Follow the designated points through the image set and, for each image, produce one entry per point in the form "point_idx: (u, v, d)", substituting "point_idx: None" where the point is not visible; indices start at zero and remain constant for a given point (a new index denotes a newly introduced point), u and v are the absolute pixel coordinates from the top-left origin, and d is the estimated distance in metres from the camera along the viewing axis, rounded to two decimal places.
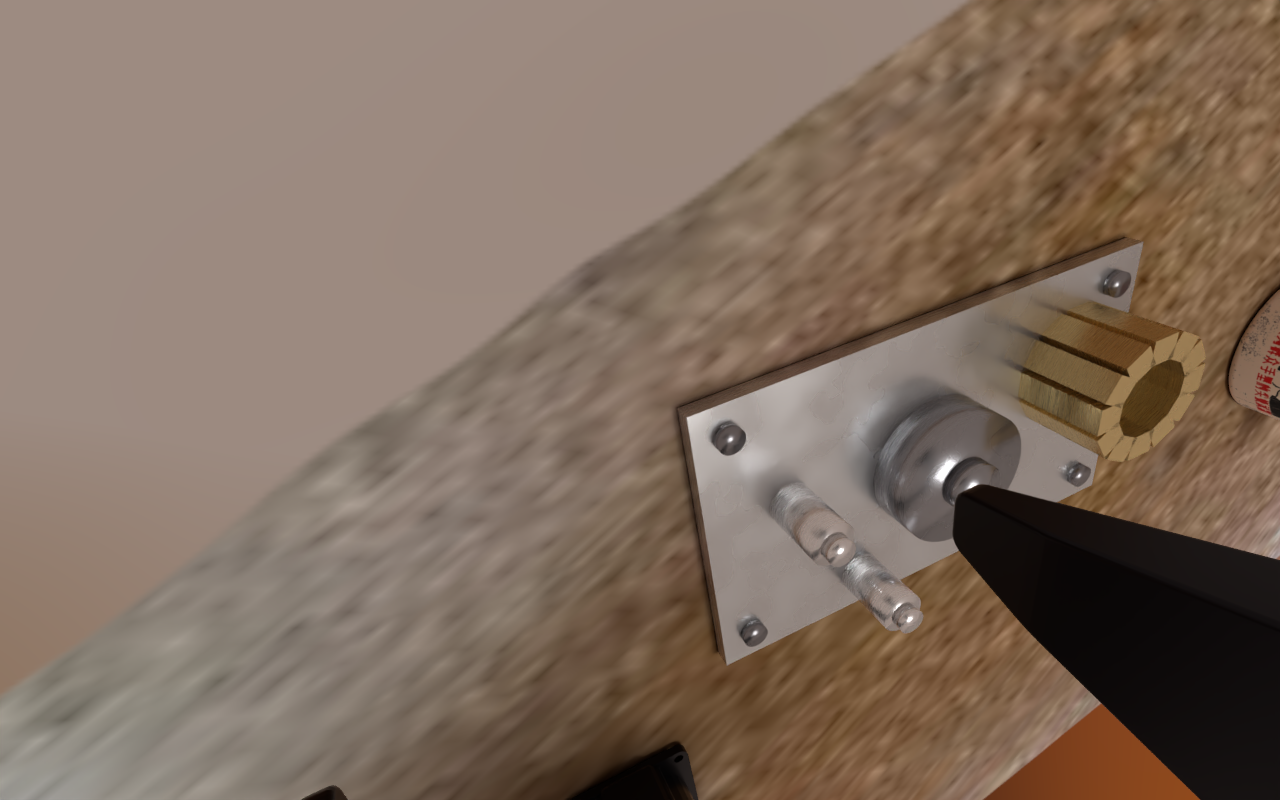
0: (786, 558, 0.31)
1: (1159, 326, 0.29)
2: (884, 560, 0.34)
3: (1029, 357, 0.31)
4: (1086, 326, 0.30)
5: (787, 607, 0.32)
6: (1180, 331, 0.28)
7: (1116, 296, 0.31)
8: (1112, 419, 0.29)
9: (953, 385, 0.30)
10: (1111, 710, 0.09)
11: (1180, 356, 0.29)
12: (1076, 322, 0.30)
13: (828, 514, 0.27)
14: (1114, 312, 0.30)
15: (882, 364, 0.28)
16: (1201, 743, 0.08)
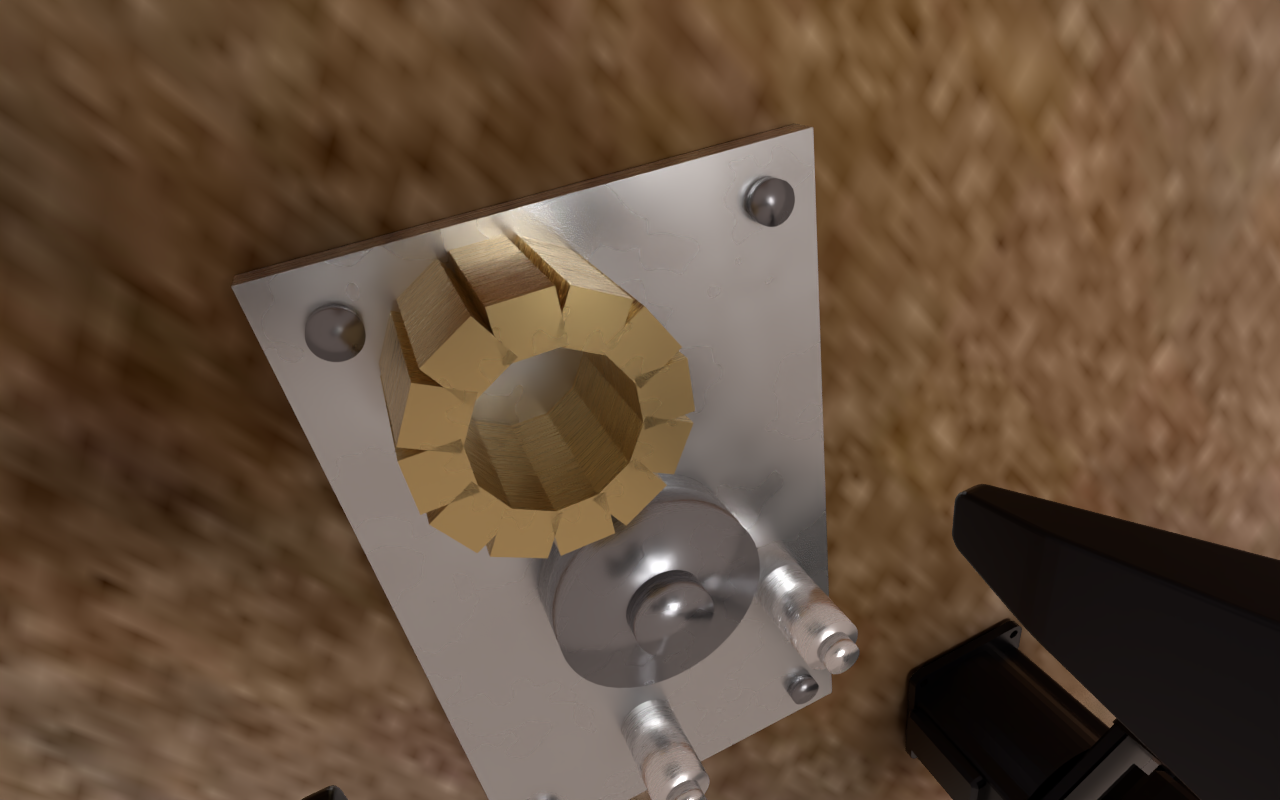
0: (721, 689, 0.26)
1: (395, 446, 0.13)
2: (781, 556, 0.24)
3: None
4: None
5: (790, 658, 0.27)
6: None
7: (362, 335, 0.15)
8: (585, 518, 0.15)
9: (523, 582, 0.20)
10: (1111, 709, 0.09)
11: (459, 414, 0.13)
12: None
13: (647, 785, 0.23)
14: None
15: (478, 700, 0.22)
16: (1201, 743, 0.08)
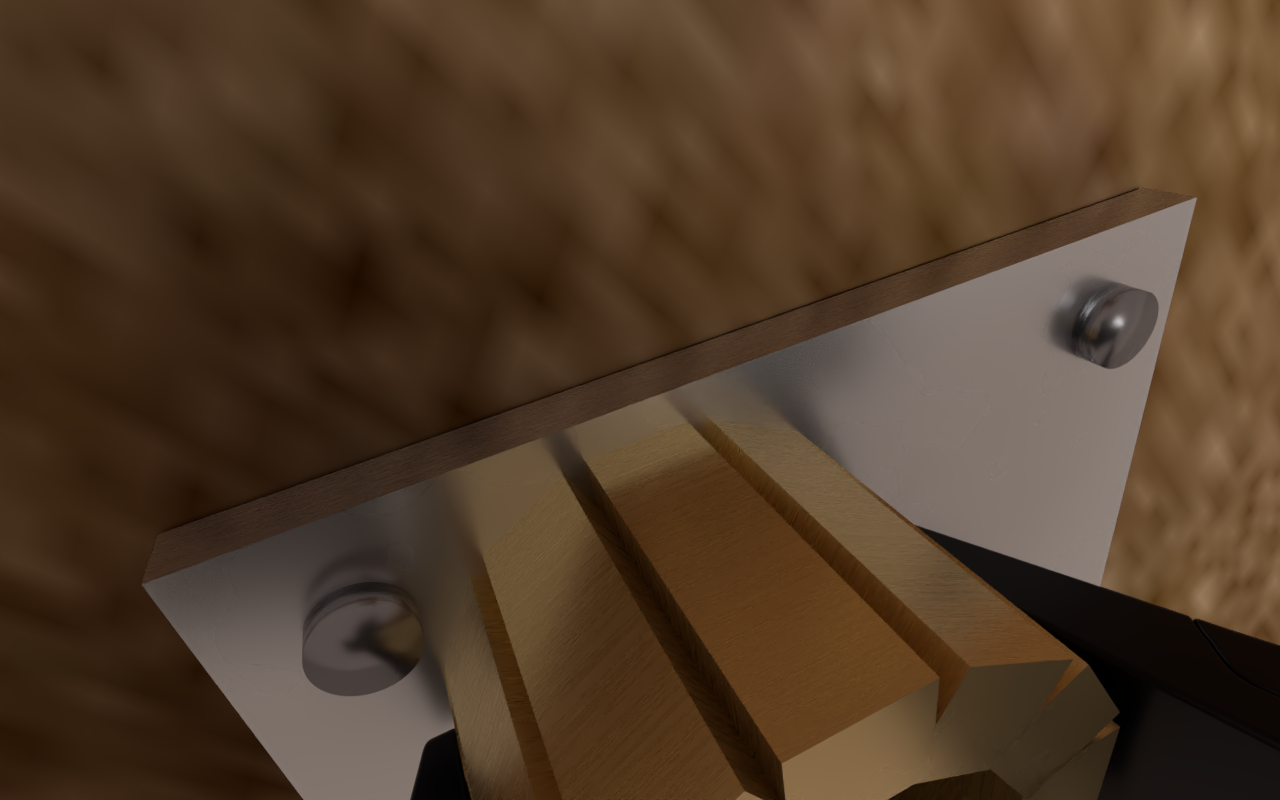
0: None
1: None
2: None
3: None
4: None
5: None
6: None
7: (418, 641, 0.07)
8: None
9: None
10: None
11: None
12: None
13: None
14: (471, 793, 0.07)
15: None
16: None
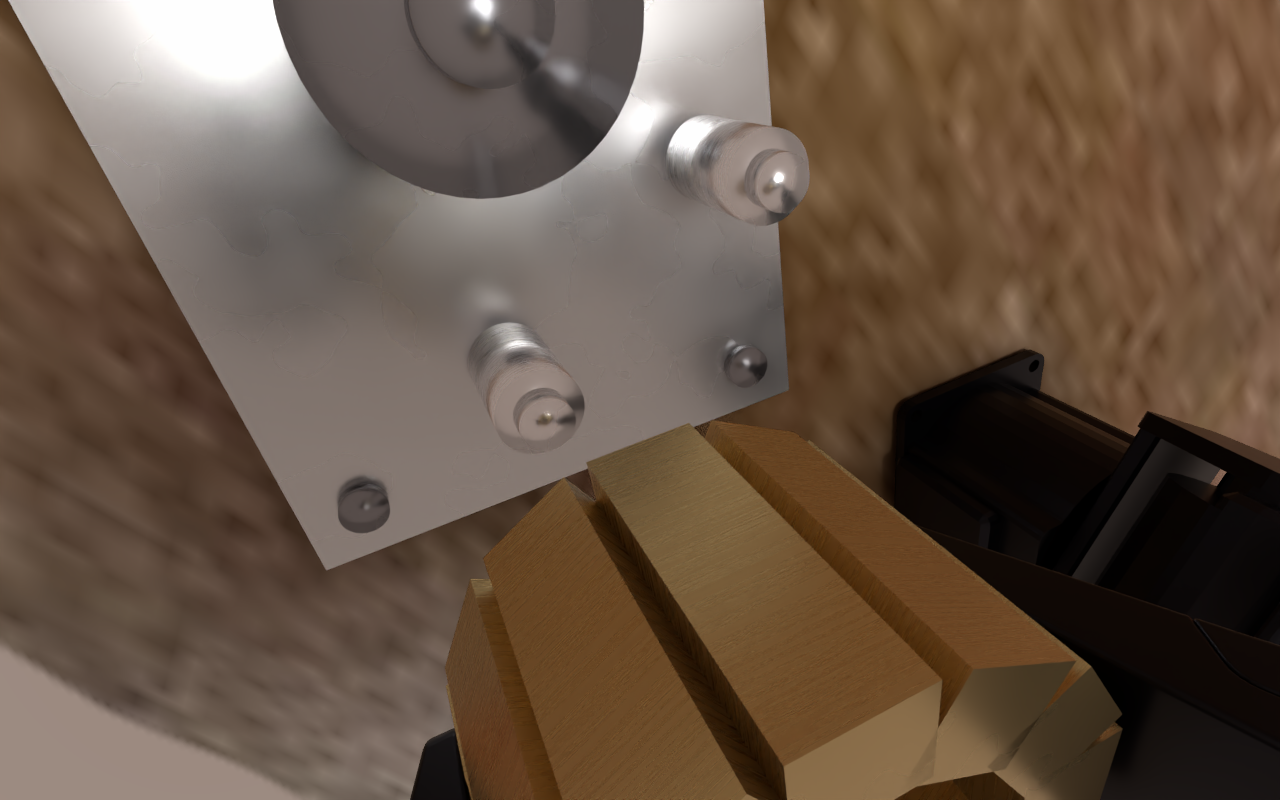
0: (622, 336, 0.18)
1: None
2: (699, 93, 0.16)
3: None
4: None
5: (724, 306, 0.19)
6: None
7: None
8: None
9: None
10: None
11: None
12: None
13: (487, 404, 0.15)
14: (471, 795, 0.07)
15: (202, 232, 0.14)
16: None
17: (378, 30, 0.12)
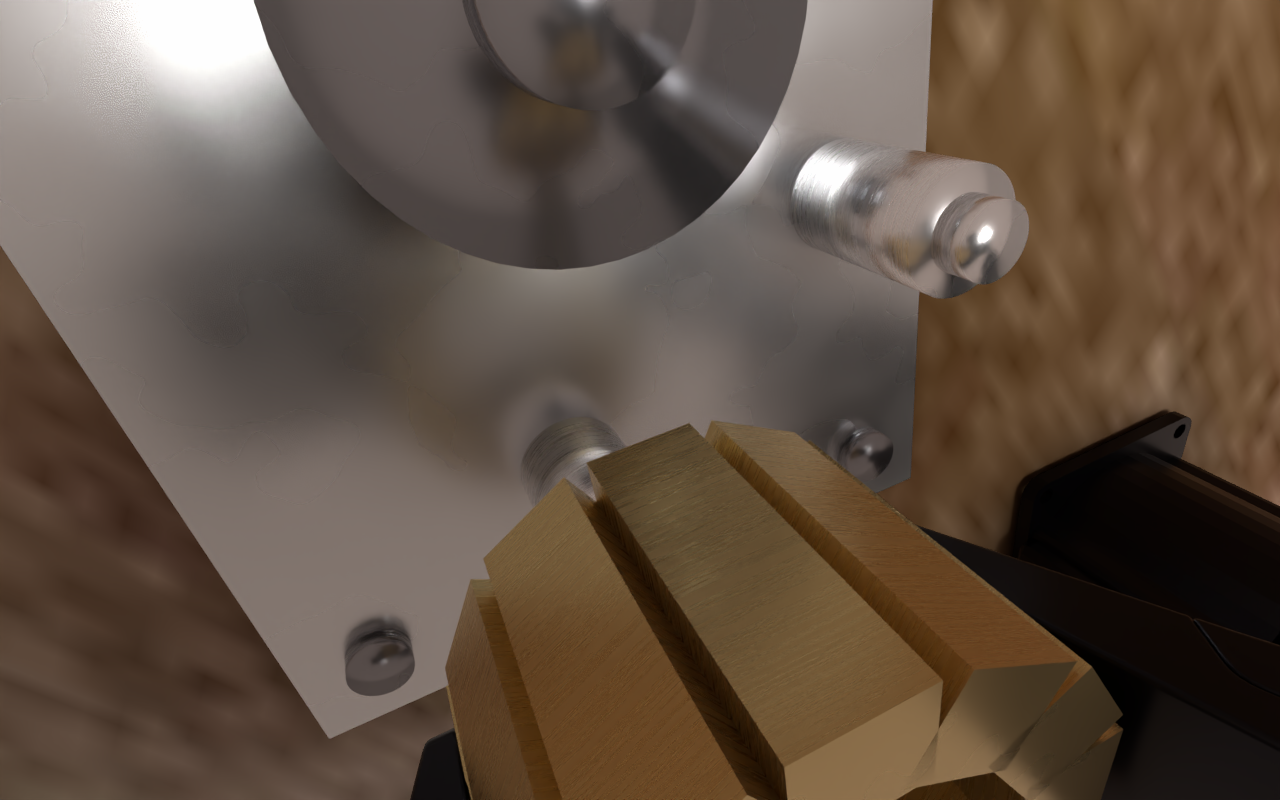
0: None
1: None
2: (841, 109, 0.12)
3: None
4: None
5: (846, 382, 0.15)
6: None
7: None
8: None
9: None
10: None
11: None
12: None
13: None
14: (471, 795, 0.07)
15: (150, 317, 0.09)
16: None
17: (418, 17, 0.07)
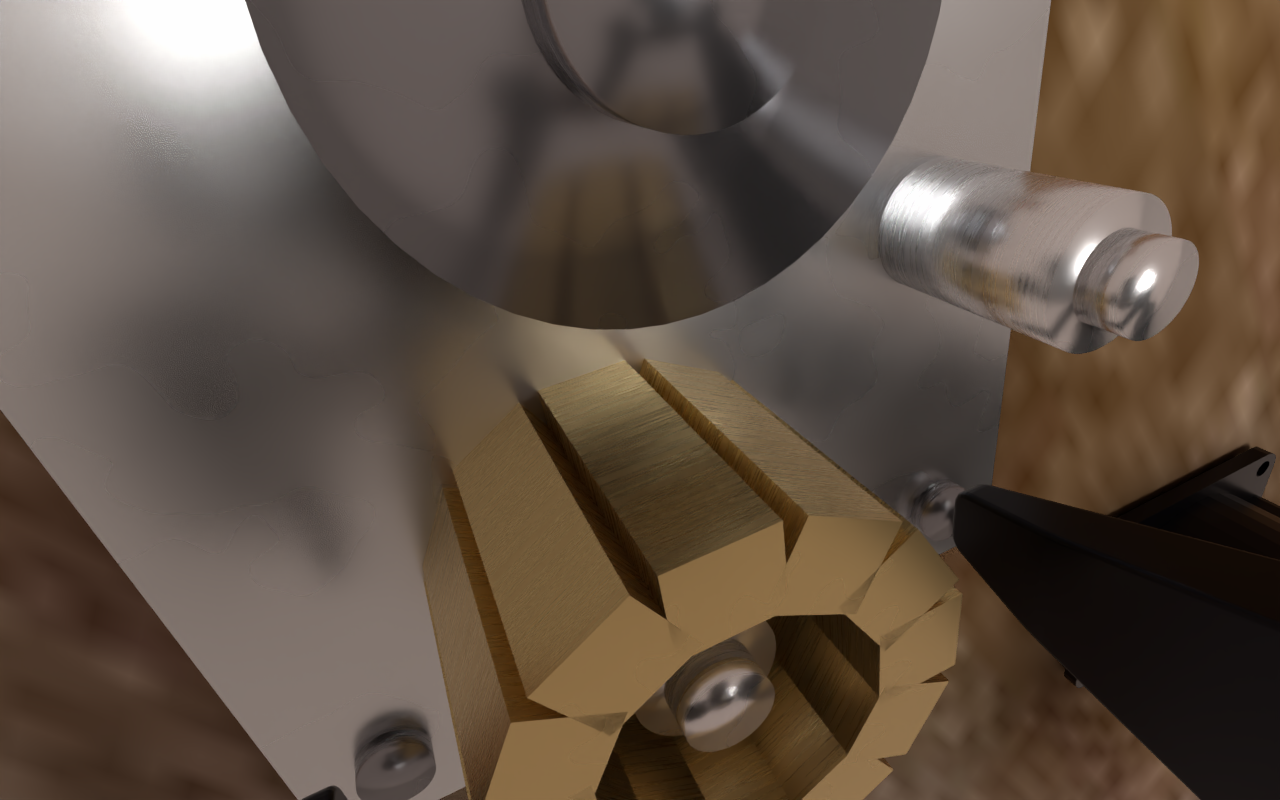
0: None
1: (466, 784, 0.07)
2: (941, 123, 0.10)
3: None
4: None
5: (924, 432, 0.13)
6: None
7: None
8: None
9: None
10: (1110, 710, 0.09)
11: (593, 751, 0.07)
12: None
13: None
14: (442, 660, 0.09)
15: (117, 386, 0.07)
16: (1201, 743, 0.08)
17: (461, 12, 0.05)
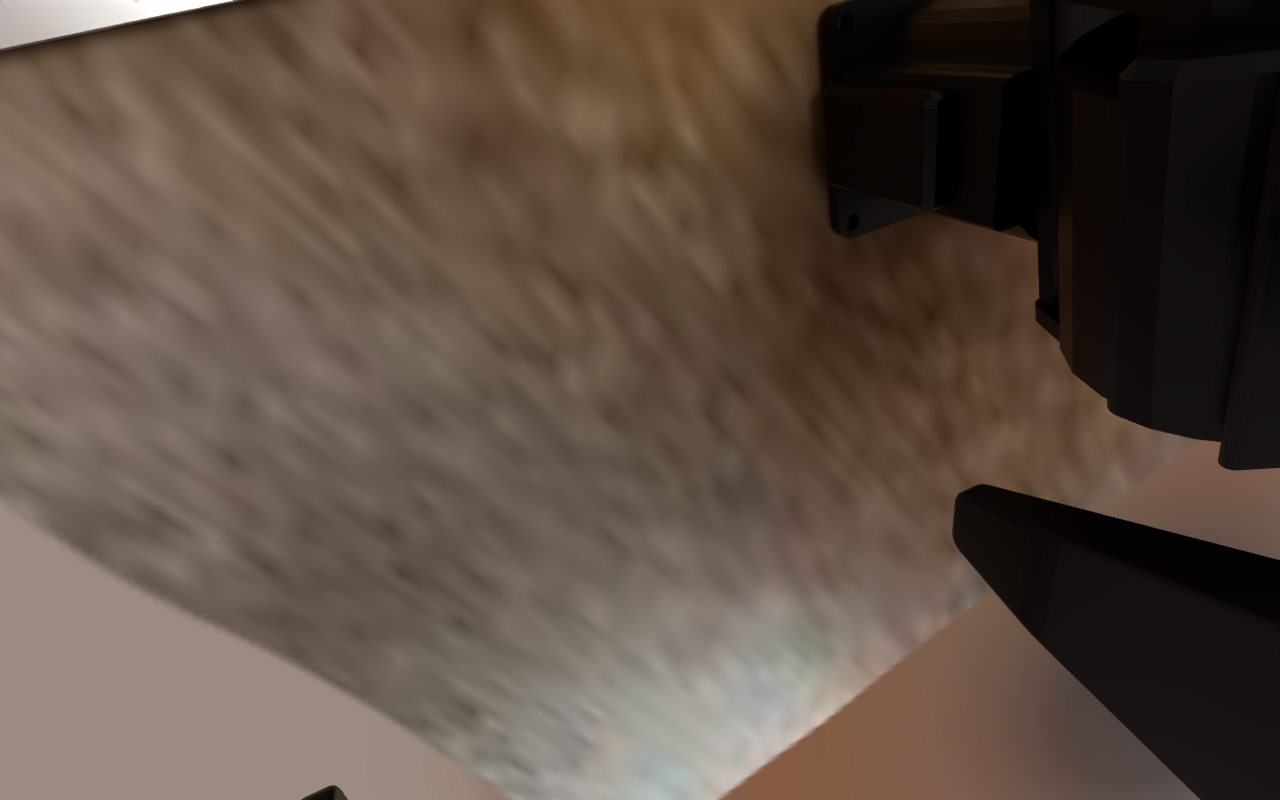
0: None
1: None
2: None
3: None
4: None
5: None
6: None
7: None
8: None
9: None
10: (1110, 710, 0.09)
11: None
12: None
13: None
14: None
15: None
16: (1201, 743, 0.08)
17: None
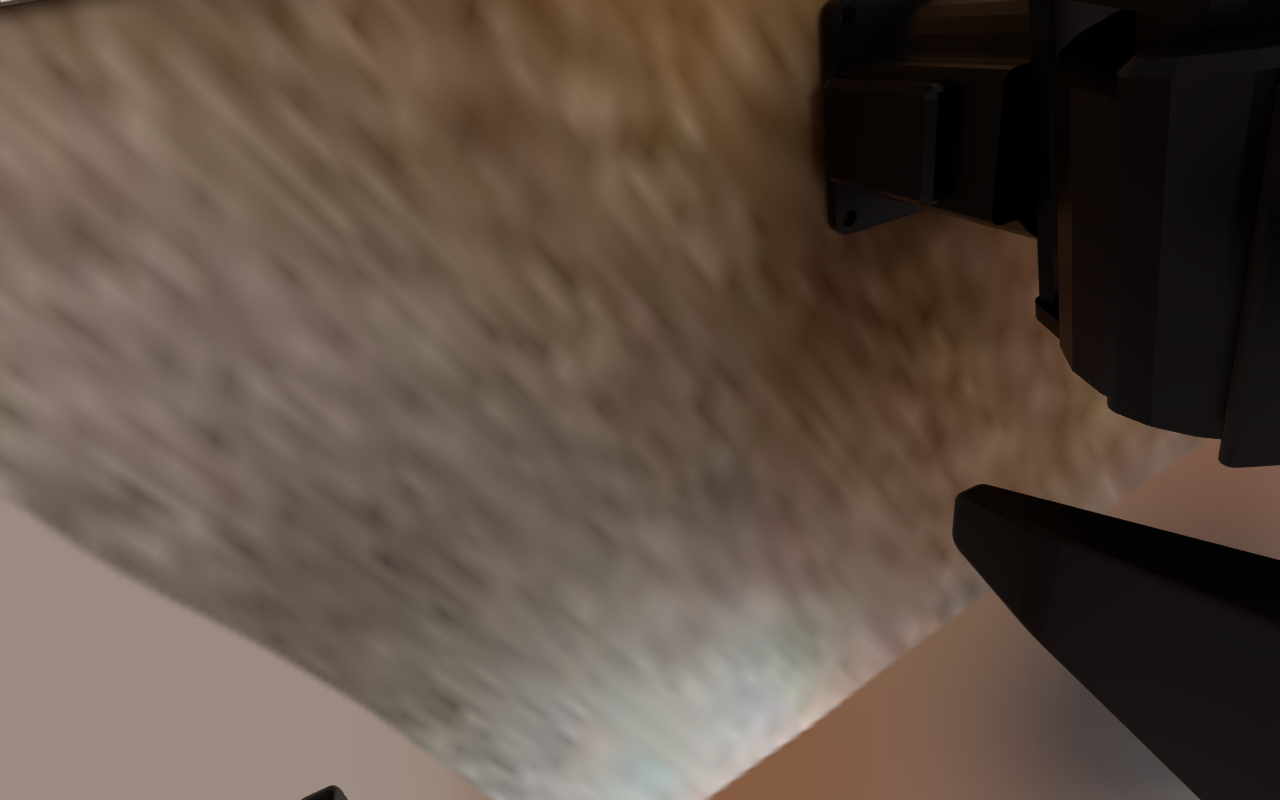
0: None
1: None
2: None
3: None
4: None
5: None
6: None
7: None
8: None
9: None
10: (1110, 709, 0.09)
11: None
12: None
13: None
14: None
15: None
16: (1201, 743, 0.08)
17: None
